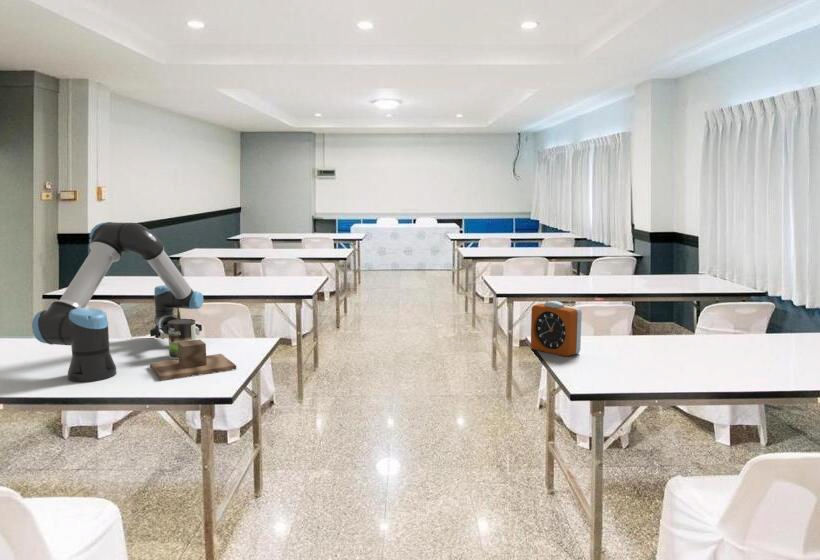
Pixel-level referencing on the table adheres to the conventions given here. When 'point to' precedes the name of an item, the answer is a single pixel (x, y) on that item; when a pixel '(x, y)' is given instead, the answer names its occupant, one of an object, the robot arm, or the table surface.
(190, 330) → the lidded glass jar
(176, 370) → the plinth
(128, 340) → the table surface
